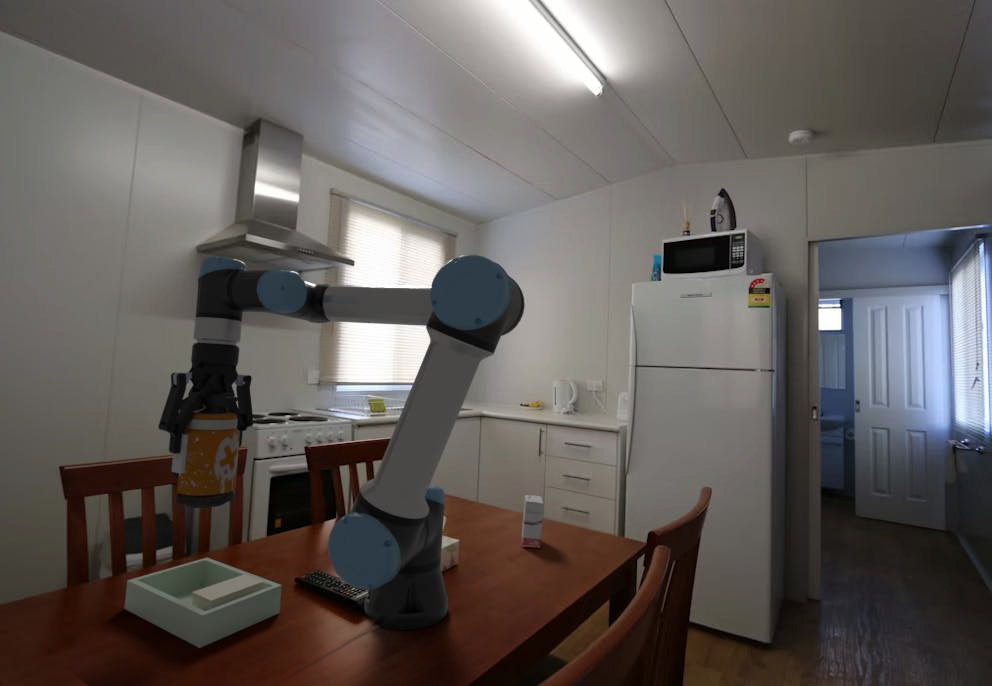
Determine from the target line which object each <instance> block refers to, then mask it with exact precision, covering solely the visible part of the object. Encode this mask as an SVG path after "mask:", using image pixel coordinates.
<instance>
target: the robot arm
mask: <svg viewBox="0 0 992 686" xmlns="http://www.w3.org/2000/svg"><path fill="white" fill-rule="evenodd" d="M200 263H201V264H200V269H199V275H198V278H197V283H198V284H197V295H196V296H197V298H196V310H195V318H194V319H195V320H194V328H193V339H194V340H195V341H196V342H193V344H192V348H191V357H190V359H191V360H190V361H191V368H190V369H189V370H188V372H172V373H171V375H170V388H169V392H168V395H167V398H166V402H165V404H164V407H163V411H162V414H161V417H160V421H159V423H158V430H160V431H164V432H166V433H169V445H168V451H169V454H172V461H171V463H172V464H171V472H172V473H173V472H175V473H180V474H182V473H185V463H186V453H187V442H188V435H187V434H183V433H184V431H185V429H186V428H187V426H188V424H189V422H190V421H191V419H192V417H193V415H194V414H195V412H193V411H196V410H197V408H198V407H199V405H200V403H201V401H202V400H203V399H204V398H205V397H206V396H207V395H209V394H210V393H232V394H233V397H237V398H238V400H237V402H234V403H231V406H225V407H226V412H231V413H235V414H236V416H237V418H238V421H237V429H238V430H239V431H240V438H239V448H241V446H242V441H243V432H244V431H247V429H248V427H253V426H254V416H253V414H254V413H253V406H252V395H251V384H252V378H253V377H252V375H249V374H240V373H239V374H238V371H237V365H238V364H239V358H240V357H239V356H240V347H239V346H238V345H237V344H238V343H241V337H242V336H241V335H242V325H243V324H242V323H243V315H244V314H243V313H245V312H248V313H249V312H253V313H255V312H256V313H267V314H274V315H278V316H284V317H288V318H292V319H293V318H294V319H299V320H304V321H308V322H309V323H312V324H313V323H315V324H326V323H329V322H332V323H333V322H335V323H339V322H340V323H359V324H378V325H379V324H380V325H400V326H402V325H403V326H404V325H405V326H421V327H422V326H423V327H425V328H426V329H425V330H426V332H427V335H428V336H429V341H430V342H429V344H428V347H427V349H426V352H425V354H424V356H423V359H422V361H421V364H420V365H419V366H420V367H419V369H418V370H417V374H416V376H415V378H414V382H413V383H412V386H411V389H410V390H409V394H408V396H407V399H406V401H405V402H404V405H403V408H402V409H401V410H402V411H401V413H400V415H399V418H398V420H397V423H396V425H395V427H394V430H393V432H392V435H391V437H390V440H389V442H388V445H387V448H386V450H385V451H384V455H383V457H382V459H381V461H380V464H379V466H378V469H377V471H376V474H375V477H373V478H372V479H370V480H367V481H365V482H363V483H362V484H361V486H360V488H359V490H358V493H357V495H356V497H355V500H354V503H353V505H352V508H351V509H350V512H349V513H347V514H345V515H343V516H342V517H340V519H339V520H338V521H336V523H335V524H334V525H333V526H332V528H331V530H330V533H329V536H328V538H327V539H328V540H327V553H328V559H329V560H330V562H331V564H332V568H333V570H334V572H335V574H336V575H337V576H338V577H339V578H340V580H342V581H343V582H344V583H345V584H347V585H349V586H351V587H353V588H355V589H359V590H368V591H367V593H366V596H365V597H364V598H365V599H364V607H363V608H364V609H363V610H364V613H365V615H366V617H368V618H369V619H371V620H372V621H375V622H372V624H374V625H376V626H378V627H381V628H385V629H391V630H399V631H400V630H401V631H403V630H404V631H405V630H406V631H407V630H415V629H416V630H417V629H421V628H426V627H430V626H433V625H435V624H437V623H439V622H441V621H442V620H443V619H444V618H445V617H446V616H447V613H448V603H449V599H448V598H449V597H448V593H447V591H446V586H445V581H444V576H443V573H442V570H441V569H442V568H441V563H442V561H441V560H442V549H443V547H442V546H443V530H444V514H445V508H446V503H445V491H444V489H443V488H442V487H440V486H439V485H436V484H431V482H433V481H432V480H433V478H434V476H435V473H436V470H437V468H438V465H439V463H440V461H441V458H442V456H443V455H444V451H445V448H446V446H447V444H448V442H449V439H450V436H451V434H452V432H453V429H454V426H455V424H456V422H457V420H458V417H459V415H460V412H461V410H462V407H463V405H464V403H465V400H466V397H467V395H468V394H469V390H470V387H471V385H472V383H473V380H474V378H475V375H476V374H477V371H478V369H479V366H480V363H481V362H482V361H483V360H484V359H487V358H489V357H491V356H494V355H495V354H494V353H495V352H496V349H497V347H498V344H499V342H500V340H501V338H502V337H503V336H505V335H507V334H509V333H511V332H513V330H514V329H516V327H517V326H518V325H519V324H520V322H521V320H522V318H523V316H524V312H525V307H526V304H525V297H524V294H523V293H524V292H523V291H522V289H521V287H520V286H519V284H518V282H517V281H516V280H515V279H514V278H512V277H511V276H510V275H509V274H508V272H507V271H506V270H505V269H504V267H503V266H501V265H500V264H499V263H497V262H495V261H493V260H491V259H489V258H488V257H485V256H482V255H477V254H465V255H459V256H458V257H455V258H453V259H451V260H449V261H448V262H446V263H445V264H444V265H442V266H441V268H440V269H438V271H437V272H436V274H435V276H434V277H433V279H432V282H431V285H430V286H428V285H427V286H425V285H421V286H420V285H382V284H381V285H377V284H376V285H375V284H340V283H339V284H336V283H335V284H333V283H332V284H331V283H330V284H329V283H328V284H327V283H326V284H325V283H311V282H308V281H305V279H303V278H302V277H301V275H300V274H299V273H298V272H297V271H293V270H283V269H279V268H278V269H277V268H276V269H266V270H265V269H255V270H253V269H252V270H249V269H247V265H246V263H245V262H243V261H242V260H239V259H236V258H231V257H220V256H207V257H205V258H204V259H203V260H202V261H201V262H200ZM190 382H191V383H192V386H191V388H190V390H189V392H188V394H187V397H188V398H187V399H186V401H185V403H184V405H183V406H182V408H181V410H180V407H181V403H182V400H183V399H184V397H185V393H186V389H187V385H188V384H189V383H190ZM233 384H235V385H236V389H235V390H236V391H234V387H233ZM235 392H236V393H235ZM235 395H236V396H235Z"/></svg>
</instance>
